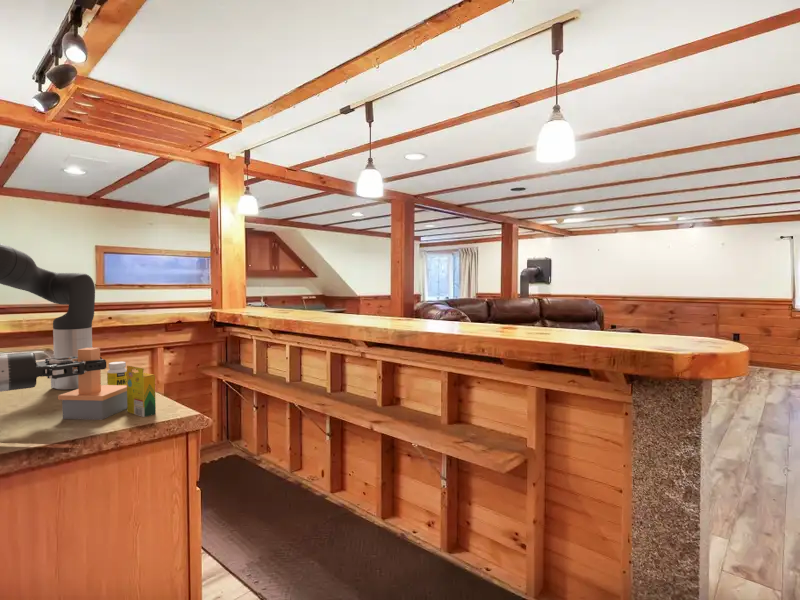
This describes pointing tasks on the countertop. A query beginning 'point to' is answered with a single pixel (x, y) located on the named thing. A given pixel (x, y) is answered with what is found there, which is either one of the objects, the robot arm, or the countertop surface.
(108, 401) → the tub
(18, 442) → the countertop surface
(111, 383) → the supplement bottle
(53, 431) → the countertop surface
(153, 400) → the crayon box
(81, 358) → the lid
